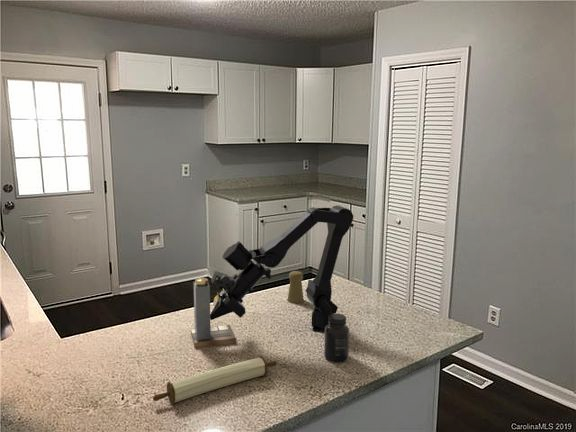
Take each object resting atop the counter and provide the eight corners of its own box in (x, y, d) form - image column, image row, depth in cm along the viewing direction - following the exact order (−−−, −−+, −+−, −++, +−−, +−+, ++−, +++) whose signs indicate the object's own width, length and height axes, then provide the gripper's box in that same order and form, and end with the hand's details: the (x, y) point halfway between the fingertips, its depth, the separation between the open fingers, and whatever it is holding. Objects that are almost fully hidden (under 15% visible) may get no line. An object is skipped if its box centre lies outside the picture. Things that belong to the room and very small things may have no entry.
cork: (303, 303, 170) (304, 274, 168) (287, 303, 170) (287, 274, 168) (303, 297, 176) (304, 269, 174) (287, 297, 176) (287, 269, 174)
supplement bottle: (350, 353, 133) (352, 313, 131) (345, 365, 127) (347, 323, 125) (327, 349, 135) (328, 310, 133) (321, 360, 129) (322, 319, 127)
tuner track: (229, 328, 148) (229, 324, 148) (235, 342, 139) (235, 337, 139) (190, 333, 145) (190, 328, 144) (194, 347, 135) (194, 342, 135)
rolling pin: (271, 367, 126) (271, 349, 125) (281, 376, 121) (282, 358, 120) (150, 401, 109) (149, 382, 108) (157, 414, 104) (156, 393, 103)
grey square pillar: (206, 326, 145) (205, 273, 142) (210, 338, 137) (209, 282, 134) (193, 328, 144) (192, 274, 140) (196, 340, 136) (195, 283, 132)
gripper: (222, 254, 145) (186, 291, 144) (233, 272, 128) (193, 314, 127) (247, 276, 149) (212, 313, 148) (261, 296, 132) (222, 338, 131)
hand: (210, 318), depth 138 cm, fingers closed
